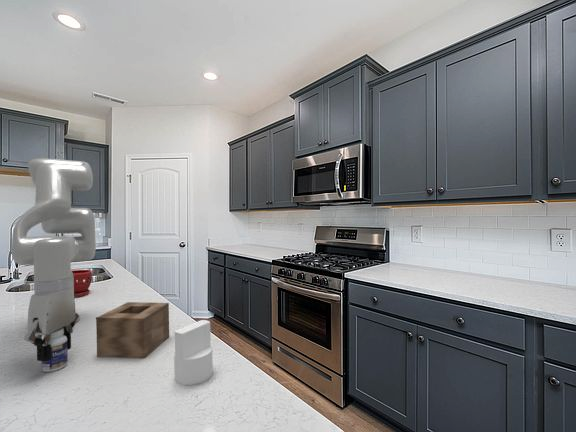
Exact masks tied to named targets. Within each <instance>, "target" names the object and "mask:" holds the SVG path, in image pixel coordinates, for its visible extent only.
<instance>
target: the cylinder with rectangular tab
mask: <svg viewBox="0 0 576 432" xmlns="http://www.w3.org/2000/svg"><path fill="white" fill-rule="evenodd" d="M211 340H212V337H211V321H209V320H206V319H201V320H198V321H196V322H194V323H191V324H189V325H186V326H183V327H181V328H180V329H176V330H174V352H173V354H174V355H173V361H174V363H173V364H174V366H173V367H174V370H173V371H174V381H175V382H176V383H177V384H179V385H182V386H193V385H197V384H200V383H203V382H205V381H207V380H208V379H209V378H210V377H212V375H213V372H214V371H213V370H214V369H213V367H214V366H213V365H214V364H213V362H214V361H213V346H212V344H211Z"/></svg>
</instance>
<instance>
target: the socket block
mask: <svg viewBox="0 0 576 432" xmlns="http://www.w3.org/2000/svg"><path fill="white" fill-rule="evenodd" d="M169 304H170V303H169V302H145V301H144V302H139V301H138V302H135V301H134V302H132V301H131V302H129V301H128V302H125V303H123V304H121V305H119V306H117V307H115V308H113V309H111V310H109V311H107V312H105V313H103V314H101V315H99V316H97V317H95V319H96V321H95V323H96V357H98V358H99V357H100V358H101V357H102V358H125V359H126V358H129V359H130V358H131V359H132V358H133V359H145V358H147V357H148V356H149V355H150V354H151V353H152V352H154V351H155V350H156V349H157V348H158V347H159V346H160V345H162V344H163V343H164V342H165V341H166V340H167V339H169V337H170V308H169V307H170V305H169Z"/></svg>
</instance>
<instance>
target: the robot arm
mask: <svg viewBox="0 0 576 432" xmlns="http://www.w3.org/2000/svg"><path fill="white" fill-rule="evenodd" d="M27 167H28V172H29V175H30V178H31V181H32V182H33V185H35V197H34V198H35V199H34V201H35V203H34V205H33V206H32V207H31V208H29V209H28V210H26V211H25V212H24V213H22V215H21V216H19V218H18V220H17V221H16V223H15V224H14V227H13V229H12V230H13V231H12V236H11V237H12V239H11V258H12V260H13V262H15V263H16V264H17V265H21V266H29V265H33V285H34V287H33V290H34V293H33V294H31V296H30V300H29V304H28V309H27V310H28V311H27V328H26V329H27V332H26V334H24V335H25V336H24V337H23V340H24V341H26V342H29V343H30V344H31V345H33V346H34V347H36V360H37V362H41V361H49V360H51V345H49V344H48V343H49V338H50V334H51V332H53V331H55V330H58V329H60V328H64V334H63V335H65V336H66V337H67V350H70V349H72V333H73V331H74V326H75V325H76V323H77V322H78V321H79V320H80V315H79V314H78V313H77V312H76V311H77V310H76V301H75V297H74V277H73V273H72V263H75V262H76V263H77V262H85V261H91V260H92V259H93V258H94V257H95V255H96V249H97V248H96V245H97V244H96V220H95V215H94V212H93V211H92V210H91V209H90V208H88V207H72V197H71V196H72V194H71V191H89V190H91V189H92V187H93V183H94V174H93V171H92V167H91V165H90V164H89V163H88V162H86V161H82V160H70V159H60V158H58V159H57V158H49V157H48V158H42V157H41V158H39V157H38V158H33V159H31V160H30V161H28V166H27ZM39 224H41V228H42V230H43V232H45V233H46V234H47V233H48V234H59V235H47V236H45V235H43V236H42V235H41V236H40V235H39V236H28V232H29V231H30V230H31V229H32V228H33V227H35V226H37V225H39ZM60 234H80V236H70V235H60ZM42 337H43V338H42Z"/></svg>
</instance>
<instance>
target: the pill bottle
mask: <svg viewBox="0 0 576 432" xmlns="http://www.w3.org/2000/svg"><path fill="white" fill-rule="evenodd" d="M63 334H64V328H60V329H58V330H55V331H53V332H51V334H50V338H49V343H48V344H49V345H51V360H49V361H40V363H41V370H42V372H45V373H50V372H51V373H52V372H56V371H58V370H61V369H63V368H65V367H66V366H67V365H68V361H69V360H68V355H69V354H68V350H67V337H66V336H65V335H63Z"/></svg>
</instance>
